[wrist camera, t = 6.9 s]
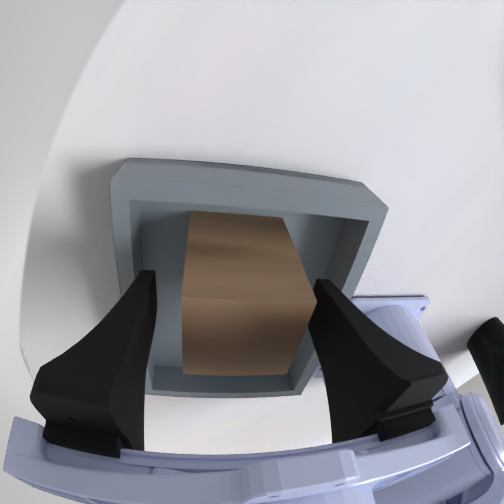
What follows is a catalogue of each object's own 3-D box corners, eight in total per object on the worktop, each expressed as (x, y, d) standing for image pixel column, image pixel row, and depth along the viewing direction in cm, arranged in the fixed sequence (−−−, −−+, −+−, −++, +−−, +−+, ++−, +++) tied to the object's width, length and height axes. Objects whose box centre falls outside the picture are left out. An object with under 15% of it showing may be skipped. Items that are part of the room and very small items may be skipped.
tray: (293, 365, 24) (300, 394, 21) (146, 362, 22) (143, 393, 19) (362, 182, 15) (388, 207, 13) (128, 158, 13) (109, 180, 11)
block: (266, 286, 17) (286, 374, 12) (187, 282, 17) (182, 374, 12) (282, 217, 15) (317, 301, 10) (190, 210, 14) (181, 297, 9)
